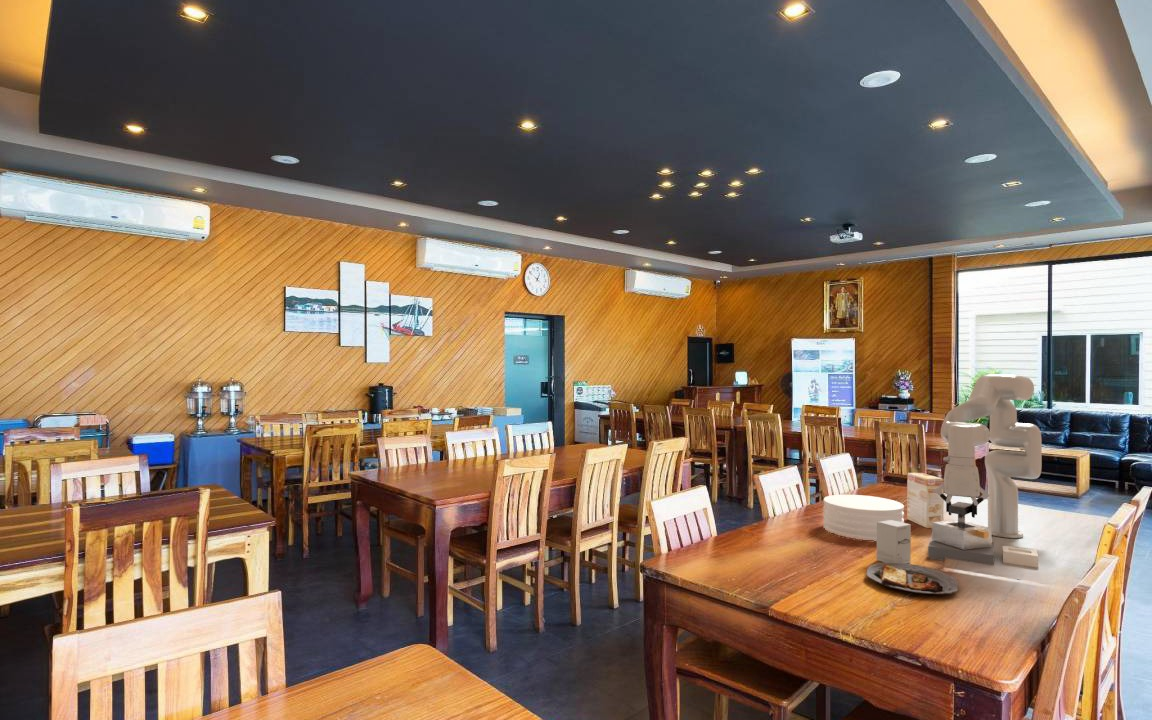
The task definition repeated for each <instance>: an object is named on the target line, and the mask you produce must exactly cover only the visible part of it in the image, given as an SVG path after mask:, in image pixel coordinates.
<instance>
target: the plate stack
mask: <svg viewBox="0 0 1152 720" xmlns="http://www.w3.org/2000/svg"><path fill="white" fill-rule="evenodd" d="M904 510H905V505H904V504H903V503H902V502H899V501H897V500H893V499H889V498H885V497H879V496H872V495H861V494H833V495H827V496H824V498H823V529H824V528H825V529H826V530H828V531H830V532H832V533H835V534H838V535H842V536H846V537H851V538H856V539H863V540H874V541H877V522H881V521H887V520H894V521H898V522H903V523H905V520H904V517H905V512H904ZM874 541H873V542H874Z"/></svg>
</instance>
